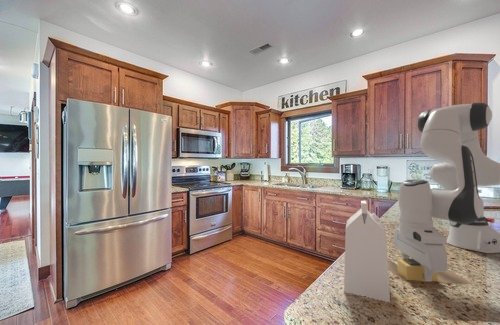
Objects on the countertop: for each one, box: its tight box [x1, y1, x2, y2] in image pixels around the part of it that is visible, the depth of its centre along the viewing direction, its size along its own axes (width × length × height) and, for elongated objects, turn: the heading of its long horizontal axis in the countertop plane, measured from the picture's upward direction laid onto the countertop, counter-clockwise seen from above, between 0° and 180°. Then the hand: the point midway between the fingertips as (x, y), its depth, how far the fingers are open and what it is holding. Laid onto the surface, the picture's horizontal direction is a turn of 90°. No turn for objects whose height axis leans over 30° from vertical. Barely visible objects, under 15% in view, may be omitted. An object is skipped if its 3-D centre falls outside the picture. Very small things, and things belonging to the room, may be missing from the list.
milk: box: [343, 200, 391, 303], centre depth 67 cm, size 12×12×26 cm
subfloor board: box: [388, 261, 473, 285], centre depth 73 cm, size 20×14×1 cm
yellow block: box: [396, 258, 438, 282], centre depth 70 cm, size 9×5×5 cm, turn 84°
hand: (416, 272), depth 70 cm, fingers open, 8 cm apart
